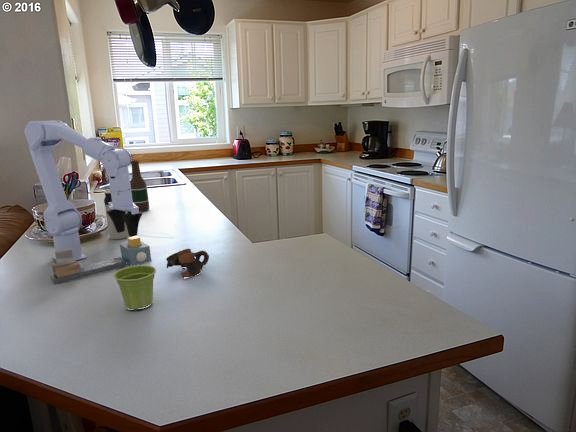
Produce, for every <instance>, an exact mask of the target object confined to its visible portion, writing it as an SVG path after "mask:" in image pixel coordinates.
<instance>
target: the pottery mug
mask: <svg viewBox="0 0 576 432" xmlns="http://www.w3.org/2000/svg"><path fill="white" fill-rule="evenodd" d="M201 257H203V260H200V259H201ZM165 260H166V262H167V263H166V269H169V268H171V267H174V266H175V267H177V266H180V267H181V268H182V267H186V270H183V271H182V272H181V273H180V275H181V277H182V279H183V278H184V277H191V276H193V277H196V276H195V275H197V274H199V273H200V272H201V270H202V269H203V267H204V266H206V265H207V263H208V262H209V260H210V254H208V252H207V251H206V250H198V251H197V252H193V251H192V250H191V248H185V249H181V250H179V251H177V252H175V253H173V254H171V255H169V256H167V257H166V258H165ZM197 276H198V275H197ZM191 278H192V277H191Z"/></svg>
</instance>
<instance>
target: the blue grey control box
mask: <svg viewBox="0 0 576 432" xmlns="http://www.w3.org/2000/svg"><path fill="white" fill-rule="evenodd" d="M119 248H120V253H121V256H120V257H121V258H123V259H124V260H126V263H127V264H129V265H130V266H131V265H132V266H134V265H135V266H139V265H142V264H141V263H143V264H146V263H149V261H150V262H152V255H151V247H150V245H149V244H147V243H145V242H143V241H141V246H137V247H132V248H130V247H128V242H124V243H120V244H119ZM145 262H146V263H145ZM138 264H139V265H138ZM132 266H131V267H132Z"/></svg>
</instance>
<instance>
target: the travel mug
mask: <svg viewBox="0 0 576 432" xmlns="http://www.w3.org/2000/svg"><path fill="white" fill-rule="evenodd" d="M103 193H104V196H105V197H104V199H103V202H104V203H103V204H104V210H105V215H106V223H107V228H108V229H107V230H108V235H109V238H110V239H111V240H123V239H127V238H128V237H130V236H129V234H128V230H127V226H126V223H125V231H124V232H120V233H117V231H116V228H115V226H114V224H113V221H112V220H111V218H110V216H109V215H108V214H107V211H110V210H111V209H109V202H112V198H111V191H110V188H109V189H106V190H103ZM125 214H128V212H126V213H125Z"/></svg>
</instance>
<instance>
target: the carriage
mask: <svg viewBox="0 0 576 432" xmlns="http://www.w3.org/2000/svg"><path fill="white" fill-rule="evenodd" d="M54 256H56V260H55V261H56V262H54V263H51V269H52V274H55V275H56V276H57V277H58V278H60V277H63V276H67V275H71V274H75V273H79V272H81V268H80V267H81V264H80V262H78V260H75V259H73V255H72V250H71V249H70V248H69V249H65V250H60V251H56V252H55V251H54Z"/></svg>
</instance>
